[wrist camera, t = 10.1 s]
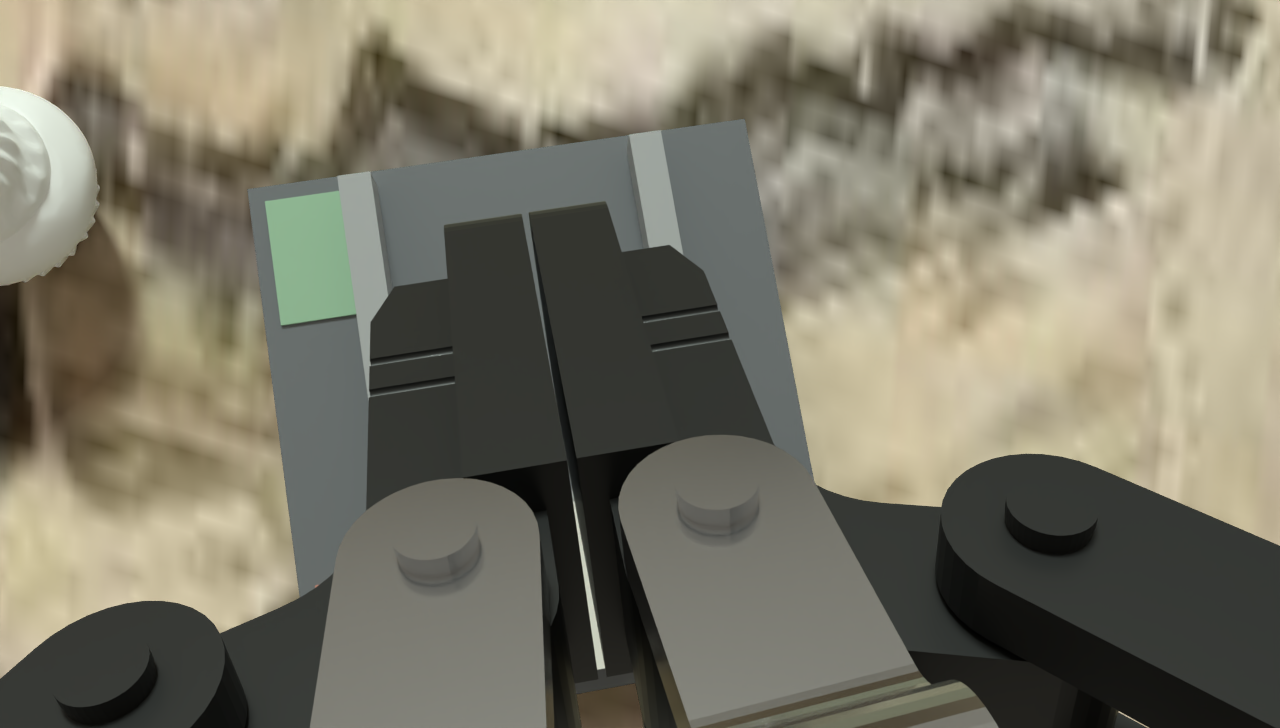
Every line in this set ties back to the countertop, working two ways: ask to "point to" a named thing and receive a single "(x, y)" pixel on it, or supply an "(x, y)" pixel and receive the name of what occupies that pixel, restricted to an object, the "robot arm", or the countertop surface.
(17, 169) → the white rounded piece
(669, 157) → the breaker panel
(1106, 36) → the countertop surface
